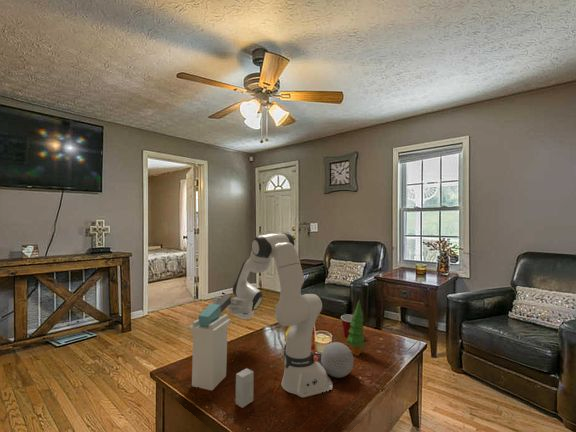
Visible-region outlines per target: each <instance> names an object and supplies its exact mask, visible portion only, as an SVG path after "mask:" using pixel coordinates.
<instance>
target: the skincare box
mask: <svg viewBox="0 0 576 432" xmlns="http://www.w3.org/2000/svg"><path fill="white" fill-rule="evenodd" d="M254 375H255V374H254V371H253V370H251V369H249V368H247V367H246V368H245V369H242V370H240V371H239V372H237V373H235V405H237V406H238V407H240V408H242V409H243V408H245V407H246V406H247V405H249V404H250V403H252V402H254V382H255V381H254V380H255V379H254Z"/></svg>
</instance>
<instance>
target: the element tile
mask: <svg viewBox="0 0 576 432" xmlns="http://www.w3.org/2000/svg"><path fill="white" fill-rule="evenodd" d="M290 328H291V326H287V329H286V331H285V333H284V342H286V336H287V333H288V331H289V330H290Z"/></svg>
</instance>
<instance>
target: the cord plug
mask: <svg viewBox="0 0 576 432" xmlns="http://www.w3.org/2000/svg"><path fill="white" fill-rule="evenodd" d="M221 297H222V298H221V299H220V300H219V301H218V302H217V303H216V304H213V303H210V304H208V305H207V307H205V308H204V309H203V310H202V311H201V312H200V313H199V314H198V315H197V317H198V318H197V319H199V326H204V327H209V324H211V323H212V322H214V321H215V320H217V319H218V318H220V317H222V313H223V312H224V311H225V310H226V309H227V306H228V305H229V304H230V303H231V302H229V300H230V298H233V297H232V295H231V294H227V293H225V294H224V295H223V296H221Z"/></svg>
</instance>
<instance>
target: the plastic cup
mask: <svg viewBox="0 0 576 432" xmlns="http://www.w3.org/2000/svg"><path fill="white" fill-rule="evenodd" d="M352 317H353V314H343V315H341V316H340V319H341V322H342V329H343V336H344V337H345V338H346V339H347V338H348V336H349V334H350V332H348V331H349V329H350V327H351V325H350V323H351V321H352Z"/></svg>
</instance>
